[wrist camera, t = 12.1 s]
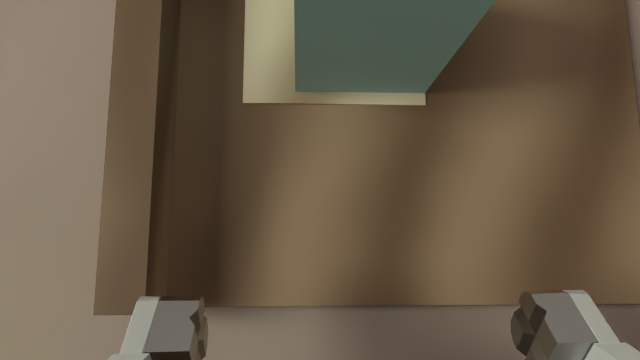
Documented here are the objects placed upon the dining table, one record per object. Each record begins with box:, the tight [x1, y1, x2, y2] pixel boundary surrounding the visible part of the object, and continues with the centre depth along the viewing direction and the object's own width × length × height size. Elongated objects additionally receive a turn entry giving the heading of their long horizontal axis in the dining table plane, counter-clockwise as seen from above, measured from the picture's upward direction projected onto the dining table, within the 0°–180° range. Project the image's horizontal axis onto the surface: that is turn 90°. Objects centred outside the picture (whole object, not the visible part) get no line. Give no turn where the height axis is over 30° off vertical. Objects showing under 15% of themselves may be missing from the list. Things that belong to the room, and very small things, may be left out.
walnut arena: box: [94, 0, 640, 315], centre depth 18 cm, size 20×18×4 cm
